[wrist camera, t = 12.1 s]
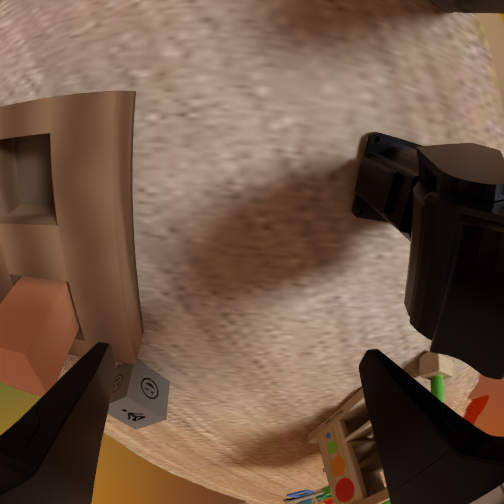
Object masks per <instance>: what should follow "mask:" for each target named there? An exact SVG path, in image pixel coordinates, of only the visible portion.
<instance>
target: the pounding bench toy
mask: <svg viewBox="0 0 504 504" xmlns="http://www.w3.org/2000/svg"><path fill="white" fill-rule="evenodd" d="M419 375H420V377H423V378H426V379H429V380H431V393H432V394H433V395H435V396H436V397H437V398H438V399H439V400H441V402H443V403H444V387H443V379H446V378H449V377H452V376H453V363H452V359H450V358H449V357H447V356H445V355H443V354H437V353H432V352H427V353H425V354H423V355H422V356H421V357H420V358H419ZM307 436H308V441H309V443H310V444H314V443H318V444H319V448H320V452H321V455H322V459H323V463H324V467H325V468H324V469H323V472H326V475H327V479H328V483H329V487H330V491H331V495H332V499H333V503H334V504H391V503H390V498H389V494H388V493H389V492H388V489H387V487H386V488H385V487H384V484H383V481H382V478H381V475H380V472H383V468H382V464H381V460H380V456H379V452H378V448H377V444H376V441H375V437H374V433H373V430H372V426H371V422H370V419H369V415H368V412H367V408H366V404H365V400H364V394H363V389H362V388H361V389H360V390H359V391H358V392H357V393H356V394H354V395H353V396H352V397H351V398H350V399H349V400H348V401H347V402H346V403H345V404H343V405H342V406H341V407H340V408H339V409H338V410H337V411H335V412H334V413H333V414H332V415H331V416H330V417H328V418H327V419H326V420H325V421H324V422H322V423H321V424H320V425H319V426H318V427H316V428H315V429H314V430H313V431H311V432H310V433H309V434H308V435H307Z"/></svg>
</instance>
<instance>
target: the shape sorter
mask: <svg viewBox="0 0 504 504" xmlns="http://www.w3.org/2000/svg"><path fill="white" fill-rule="evenodd" d="M322 489H323V491H320V492H317V493H314V491H310V490H302V491H299V492H295V493H291V494H287V496H289V497H294V498H296V499H293V500H286V499H284V501H285V502H286V503H288V504H324V503H325V504H334V503H333V499H332V495H331V491H330V487H329V486H327V487H324V488H322ZM300 493H304V494H300ZM312 493H314V494H312ZM296 494H300V495H296ZM308 494H310V495H308ZM305 495H307V496H305ZM301 496H304V497H301ZM297 497H300V498H297Z"/></svg>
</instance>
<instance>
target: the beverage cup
mask: <svg viewBox="0 0 504 504" xmlns="http://www.w3.org/2000/svg"><path fill="white" fill-rule="evenodd" d="M431 1H432V2H433V3H434V4H435V5H436V6H437V7H438V8H440V9H442V10H444V11H446V12H450V13H453V12H462V13H501V14H504V0H431Z"/></svg>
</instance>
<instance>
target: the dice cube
mask: <svg viewBox="0 0 504 504" xmlns="http://www.w3.org/2000/svg"><path fill="white" fill-rule="evenodd" d="M169 384H170V382H169V381H168V380H167V379H165V378H164V377H162V376H161V375H159V374H158V373H156V372H155V371H153V370H152V369H151V368H149V367H148V366H146V365H145V364H144V363H142V362H141V361H139V360H138V359H137V361H136V364H129V363H124V364H122V365H121V366H119V367H117V368H115V369H114V374H113V381H112V389H111V397H110V404H109V409H108V413H107V414H109V415H111V416H112V417H114V418H116V419H118V420H120V421H121V422H123V423H125V424H127V425H129V426H130V427H132V428H134V429H139V428H142V427H145V426H148V425H151V424H154V423H157V422H160V421H163V420H166V415H167V404H168V394H169Z"/></svg>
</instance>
